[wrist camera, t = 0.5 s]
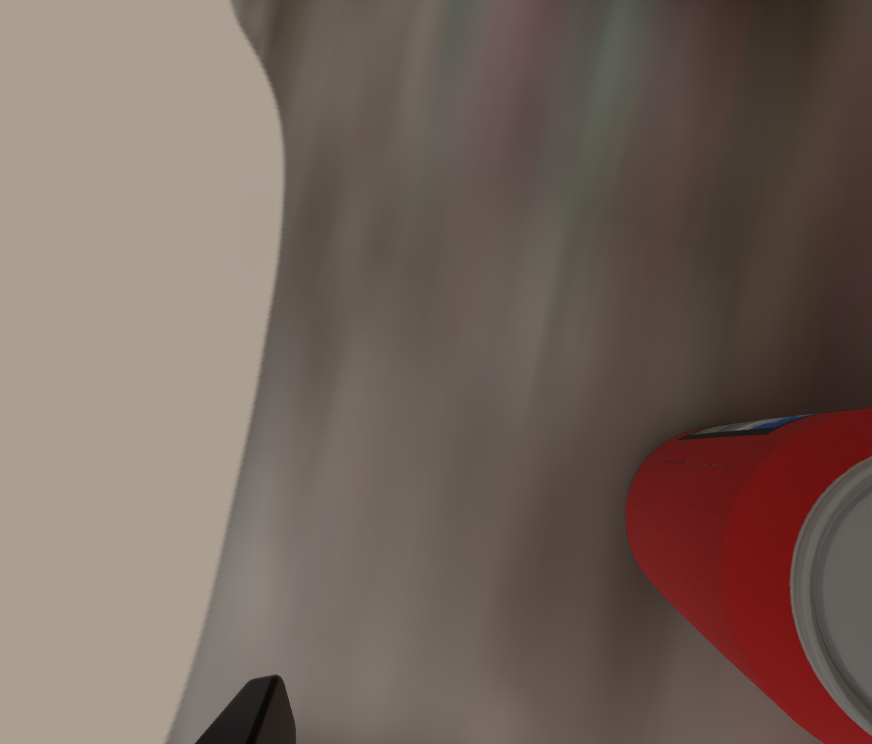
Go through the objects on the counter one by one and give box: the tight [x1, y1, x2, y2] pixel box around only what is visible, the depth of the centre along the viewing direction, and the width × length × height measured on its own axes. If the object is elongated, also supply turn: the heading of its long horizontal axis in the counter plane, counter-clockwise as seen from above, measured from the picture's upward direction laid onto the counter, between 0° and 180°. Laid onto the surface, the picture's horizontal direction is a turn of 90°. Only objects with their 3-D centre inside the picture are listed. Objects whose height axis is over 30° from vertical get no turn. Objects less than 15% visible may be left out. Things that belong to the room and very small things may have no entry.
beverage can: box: [626, 408, 872, 744], centre depth 15 cm, size 7×7×12 cm
